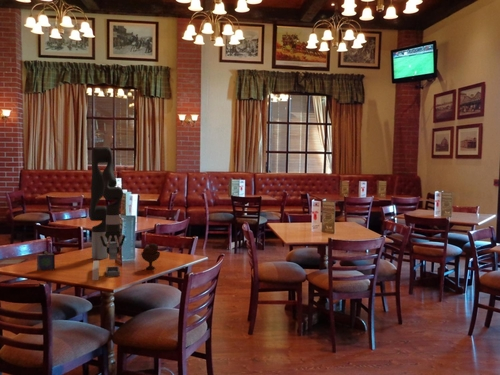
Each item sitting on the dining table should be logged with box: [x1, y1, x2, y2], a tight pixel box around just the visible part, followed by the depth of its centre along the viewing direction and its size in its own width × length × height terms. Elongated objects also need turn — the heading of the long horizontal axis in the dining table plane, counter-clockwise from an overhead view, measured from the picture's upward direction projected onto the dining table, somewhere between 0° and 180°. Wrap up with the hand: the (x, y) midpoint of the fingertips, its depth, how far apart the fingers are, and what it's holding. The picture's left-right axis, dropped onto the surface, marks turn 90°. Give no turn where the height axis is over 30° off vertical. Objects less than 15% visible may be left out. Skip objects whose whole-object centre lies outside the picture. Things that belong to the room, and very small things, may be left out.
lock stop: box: [108, 241, 118, 261], centre depth 250 cm, size 10×4×8 cm, turn 18°
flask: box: [36, 250, 56, 271], centre depth 256 cm, size 9×3×11 cm, turn 109°
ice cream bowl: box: [140, 243, 161, 271], centre depth 263 cm, size 11×11×15 cm
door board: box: [91, 260, 100, 281], centre depth 248 cm, size 24×3×5 cm, turn 18°
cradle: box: [105, 266, 121, 278], centre depth 251 cm, size 13×7×2 cm, turn 18°
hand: (112, 253), depth 250 cm, fingers closed on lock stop, 4 cm apart
